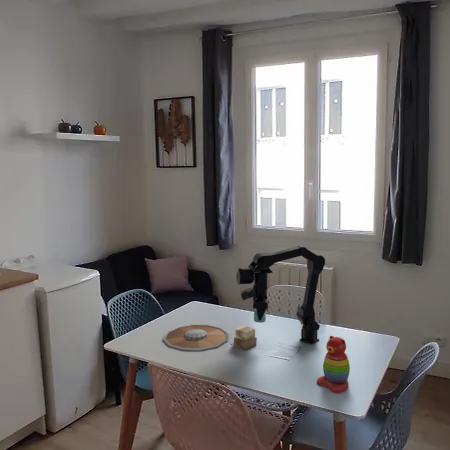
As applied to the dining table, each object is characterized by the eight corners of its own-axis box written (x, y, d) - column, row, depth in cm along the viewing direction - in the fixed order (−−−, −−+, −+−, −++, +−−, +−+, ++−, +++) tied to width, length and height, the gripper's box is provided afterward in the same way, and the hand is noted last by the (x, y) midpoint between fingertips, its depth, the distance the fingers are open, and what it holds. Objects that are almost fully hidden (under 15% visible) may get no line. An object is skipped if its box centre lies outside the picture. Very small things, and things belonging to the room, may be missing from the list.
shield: (179, 317, 235) (237, 324, 226) (179, 323, 236) (237, 330, 226) (151, 340, 207) (215, 349, 198) (151, 347, 208) (216, 356, 198)
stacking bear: (314, 382, 174) (315, 336, 172) (333, 375, 180) (334, 330, 178) (336, 394, 166) (338, 346, 163) (356, 386, 171) (358, 339, 169)
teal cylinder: (267, 320, 206) (268, 311, 206) (260, 323, 202) (260, 314, 202) (258, 317, 209) (259, 309, 209) (251, 320, 206) (251, 311, 205)
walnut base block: (256, 346, 208) (256, 337, 208) (245, 350, 203) (245, 342, 203) (244, 341, 213) (244, 333, 212) (233, 346, 208) (233, 337, 207)
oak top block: (255, 337, 207) (255, 328, 207) (245, 341, 203) (245, 332, 202) (244, 333, 212) (244, 325, 211) (235, 337, 207) (235, 328, 207)
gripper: (242, 277, 213) (241, 310, 215) (241, 288, 195) (240, 325, 197) (267, 277, 213) (266, 311, 215) (268, 289, 194) (267, 326, 196)
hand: (259, 318), depth 206 cm, fingers closed on teal cylinder, 5 cm apart
